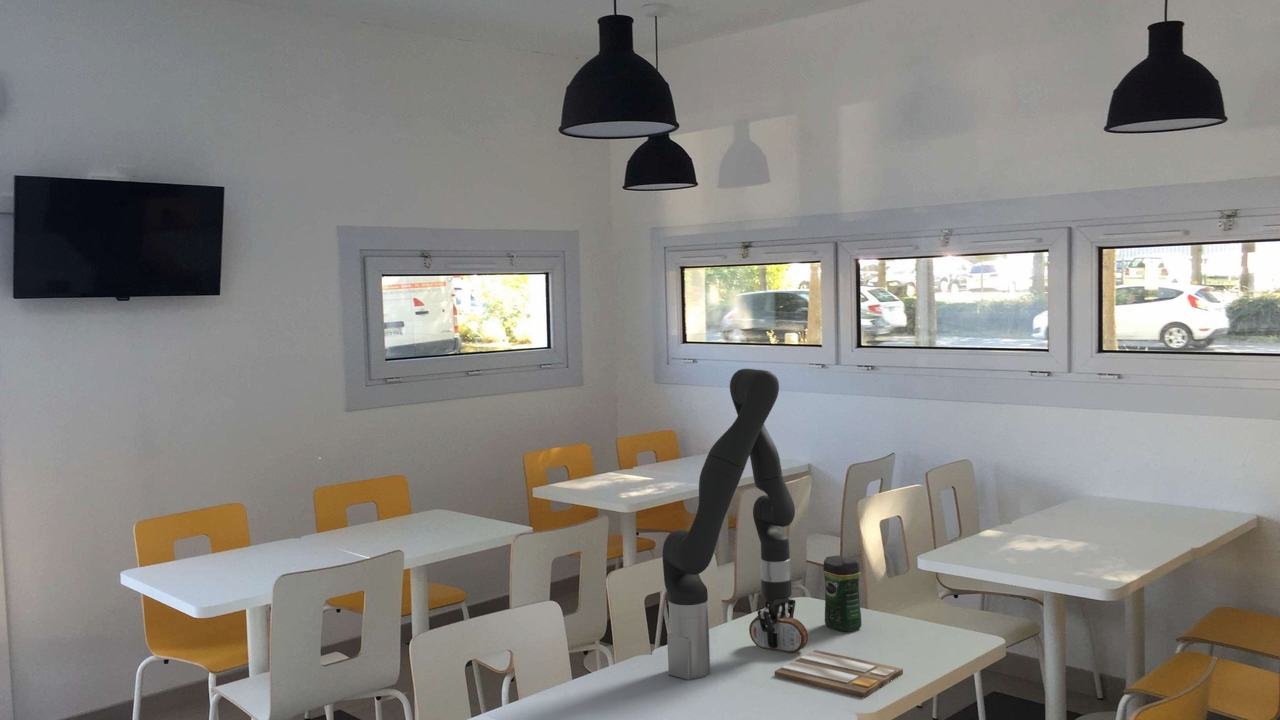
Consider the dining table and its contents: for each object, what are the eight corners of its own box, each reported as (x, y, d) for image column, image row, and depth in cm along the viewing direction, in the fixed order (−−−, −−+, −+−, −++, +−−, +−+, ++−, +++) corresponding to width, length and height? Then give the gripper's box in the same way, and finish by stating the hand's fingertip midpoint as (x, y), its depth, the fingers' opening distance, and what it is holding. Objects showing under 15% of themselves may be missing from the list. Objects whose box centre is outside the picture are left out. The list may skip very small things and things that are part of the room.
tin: (809, 652, 251) (808, 618, 251) (803, 656, 249) (802, 622, 248) (753, 644, 259) (752, 611, 259) (748, 647, 257) (746, 614, 256)
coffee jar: (867, 629, 268) (865, 558, 267) (842, 634, 264) (840, 563, 263) (843, 619, 276) (841, 551, 276) (819, 624, 273) (817, 555, 272)
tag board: (864, 698, 221) (864, 690, 221) (774, 676, 236) (774, 669, 236) (902, 673, 234) (902, 667, 234) (815, 654, 249) (815, 648, 249)
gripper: (772, 585, 245) (774, 656, 246) (804, 572, 256) (806, 640, 257) (746, 580, 250) (749, 650, 251) (778, 568, 261) (781, 635, 262)
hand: (778, 644), depth 254 cm, fingers open, 3 cm apart
